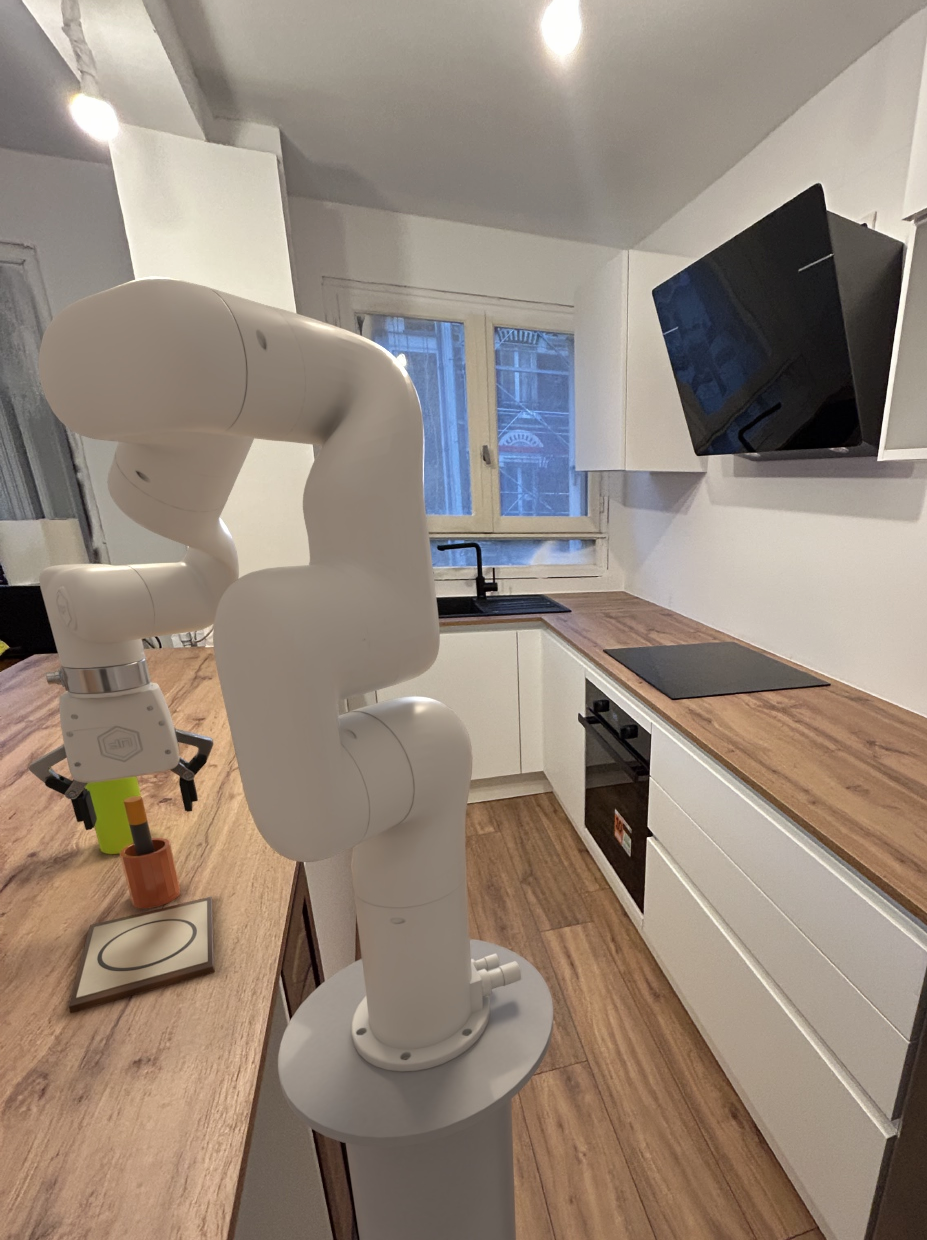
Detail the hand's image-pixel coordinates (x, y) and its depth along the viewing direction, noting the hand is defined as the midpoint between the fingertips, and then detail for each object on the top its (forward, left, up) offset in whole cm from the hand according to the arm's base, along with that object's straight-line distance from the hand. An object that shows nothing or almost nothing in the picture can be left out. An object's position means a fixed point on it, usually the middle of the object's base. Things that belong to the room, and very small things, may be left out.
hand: (141, 816), depth 77 cm
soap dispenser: (+4, -18, -11) cm, 22 cm away
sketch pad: (0, +12, -11) cm, 16 cm away
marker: (0, 0, -11) cm, 11 cm away
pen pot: (0, 0, -11) cm, 11 cm away
